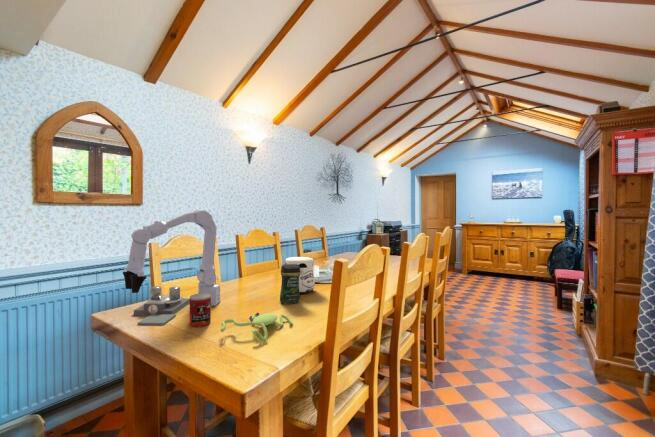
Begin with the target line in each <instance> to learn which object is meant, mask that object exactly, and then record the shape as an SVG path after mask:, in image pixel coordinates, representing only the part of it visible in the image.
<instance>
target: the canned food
mask: <svg viewBox="0 0 655 437" xmlns="http://www.w3.org/2000/svg"><path fill="white" fill-rule="evenodd" d="M189 298H190V303H189V326H191V327H193V328H203V327H206V326H208V325H209V324H211V318H212V317H211V316H212V315H211V311H212V310H211V308H212V306H211V295H210V294H207V293H199V294H198V293H194V294H192V295H190V296H189Z"/></svg>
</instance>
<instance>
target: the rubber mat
mask: <svg viewBox="0 0 655 437" xmlns="http://www.w3.org/2000/svg"><path fill="white" fill-rule="evenodd" d="M176 317H177V314H176V313H175V314H151V315H147V316H146V317H145V318H143V319H141V320H140V321H138V322H137V326H165V325H167V324H168V323H169V322H170V321H172V320H174V319H175V318H176Z"/></svg>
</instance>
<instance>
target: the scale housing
mask: <svg viewBox="0 0 655 437" xmlns="http://www.w3.org/2000/svg"><path fill="white" fill-rule="evenodd" d="M188 305H190V297H189V298H187V297H185V298H183V297H182V300H180V301H178V302H175V303H171V304H166V302H144V303H143V305H140V306H138V307H137V308H135V309H133V316H149V315H151V314H176V313H178V312H179V311H181V310H182V309H184V308H185V307H186V306H188Z"/></svg>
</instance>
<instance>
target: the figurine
mask: <svg viewBox="0 0 655 437" xmlns="http://www.w3.org/2000/svg"><path fill="white" fill-rule="evenodd" d="M248 318H249V321H248V322H247V321H246V322H237V320H236V319H235V318H233V319H232V318H230V319H225V320H223V321H222V322H221V326H222V327H221V329H220V332H221V333H224V331H225V330H226V328H227V325H226V324H229V323H233V325H234V326H236V327H246V326H247V327H248V326H253V325H255V326H259V327H260V329H261V330H263V334H264V336H263V335H262V334H261V333H260V331H259V330H257V329H254V330H253V331H252V335H253V336H254V337H255V339H256V340H257V341H258V343H259V345H261V346H263V345H262V342H261V340H262V341H263V342H265V341H266V340H268V337H269V335H268V329H267V327H268V326H269V325H275V326H276V327H282V326H283V324H284V320H286V322H287V323H288V324H289V325H290V326H292V325H293V321H292V320H291V318H289V317H288V316H287V315H285V314H282V313H281V314H280V315H279V322H278V320H277V319H278V315H277V314H276V313H271V312H270V313H269V312H268V313H263V314H260V312H257V313H255V314H253V315H250V316H249V317H248ZM266 326H267V327H266ZM257 335H258V336H259V337H258V336H257ZM259 338H260V339H261V340H260V339H259Z"/></svg>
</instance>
